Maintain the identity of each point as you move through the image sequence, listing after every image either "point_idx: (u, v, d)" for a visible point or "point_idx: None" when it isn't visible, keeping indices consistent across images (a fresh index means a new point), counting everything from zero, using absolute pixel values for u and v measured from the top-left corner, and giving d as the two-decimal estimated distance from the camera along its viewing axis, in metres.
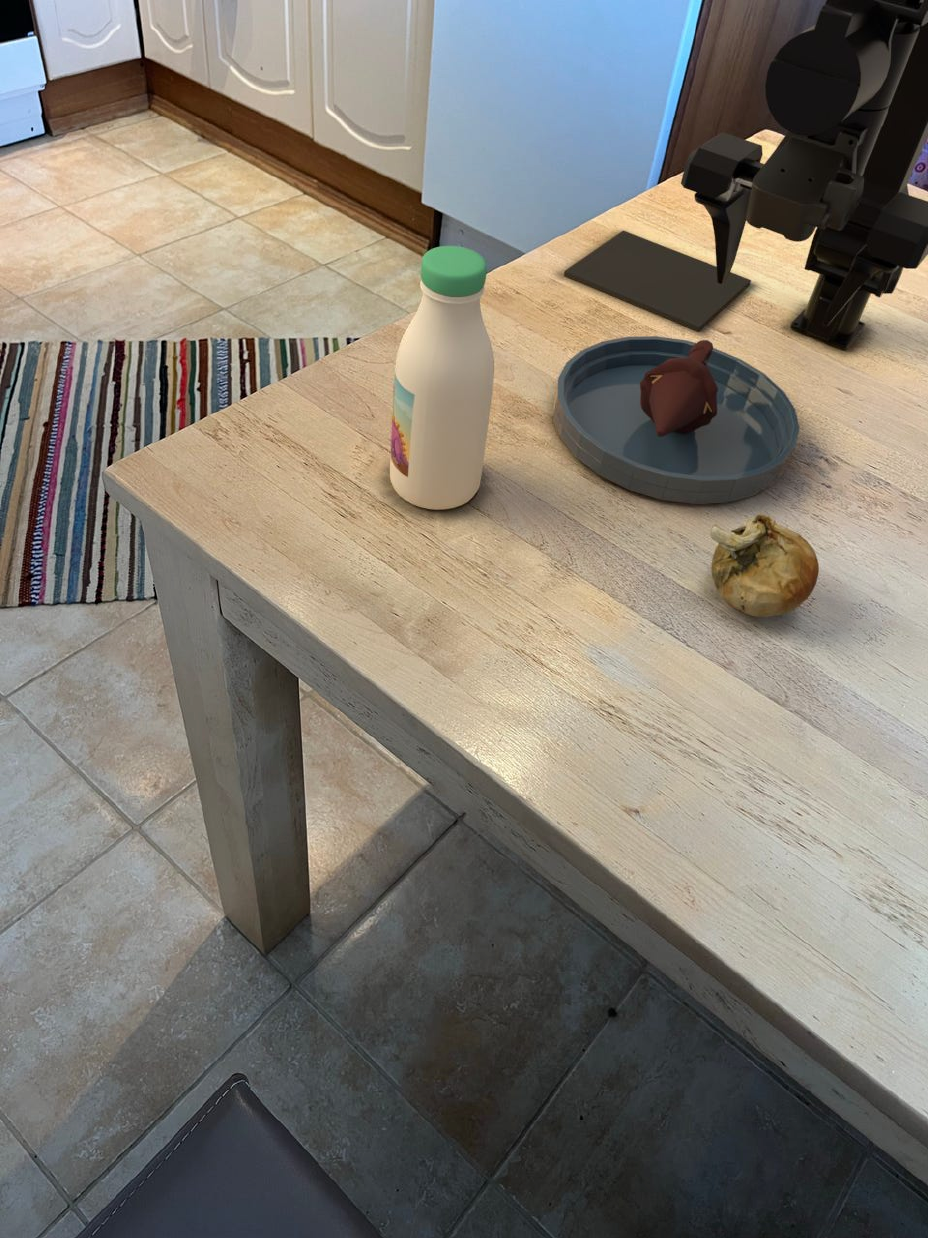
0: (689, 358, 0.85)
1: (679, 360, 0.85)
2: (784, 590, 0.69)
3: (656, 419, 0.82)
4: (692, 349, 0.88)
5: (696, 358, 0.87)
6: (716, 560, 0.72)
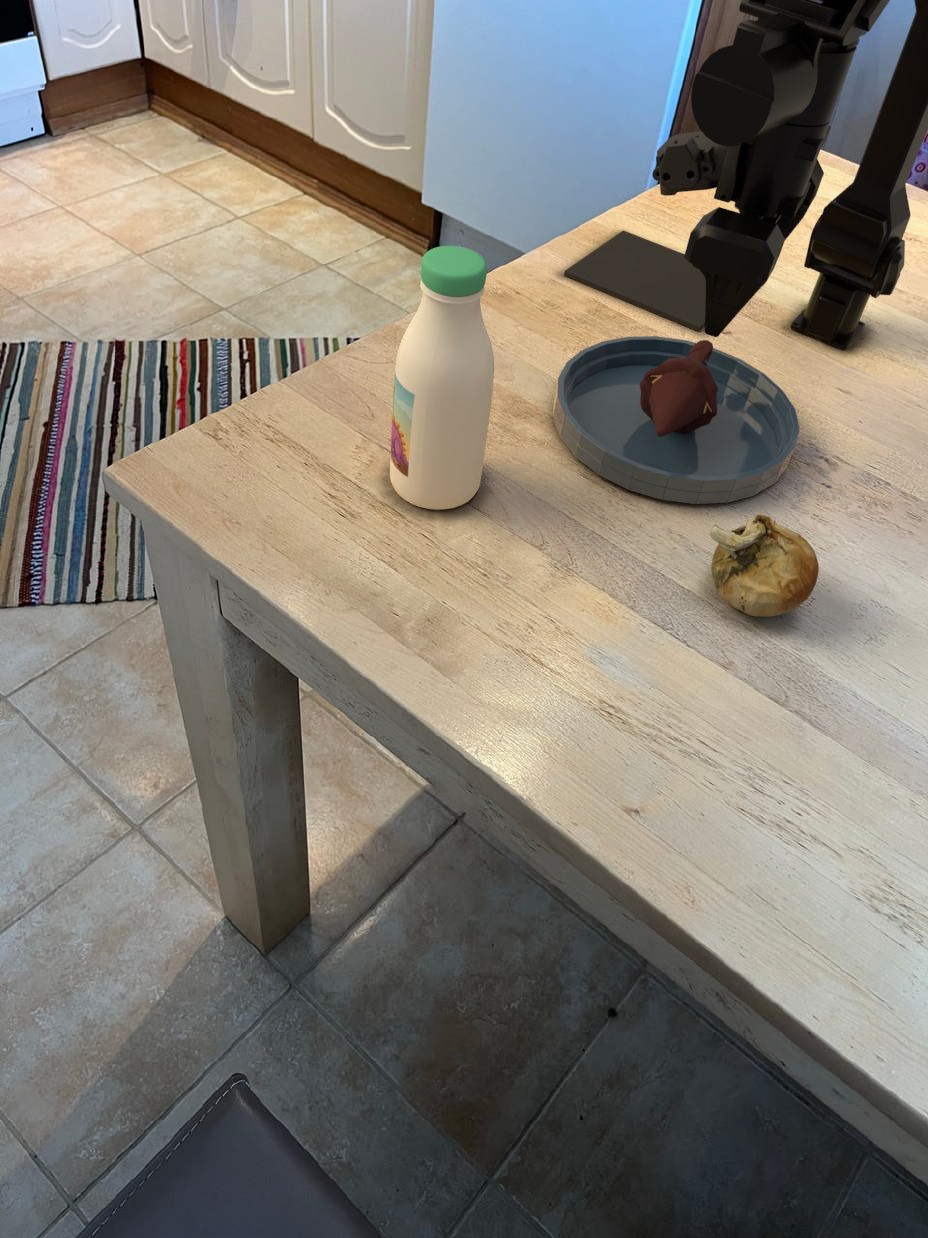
0: (689, 358, 0.85)
1: (679, 360, 0.85)
2: (784, 590, 0.69)
3: (656, 419, 0.82)
4: (692, 349, 0.88)
5: (696, 358, 0.87)
6: (716, 560, 0.72)
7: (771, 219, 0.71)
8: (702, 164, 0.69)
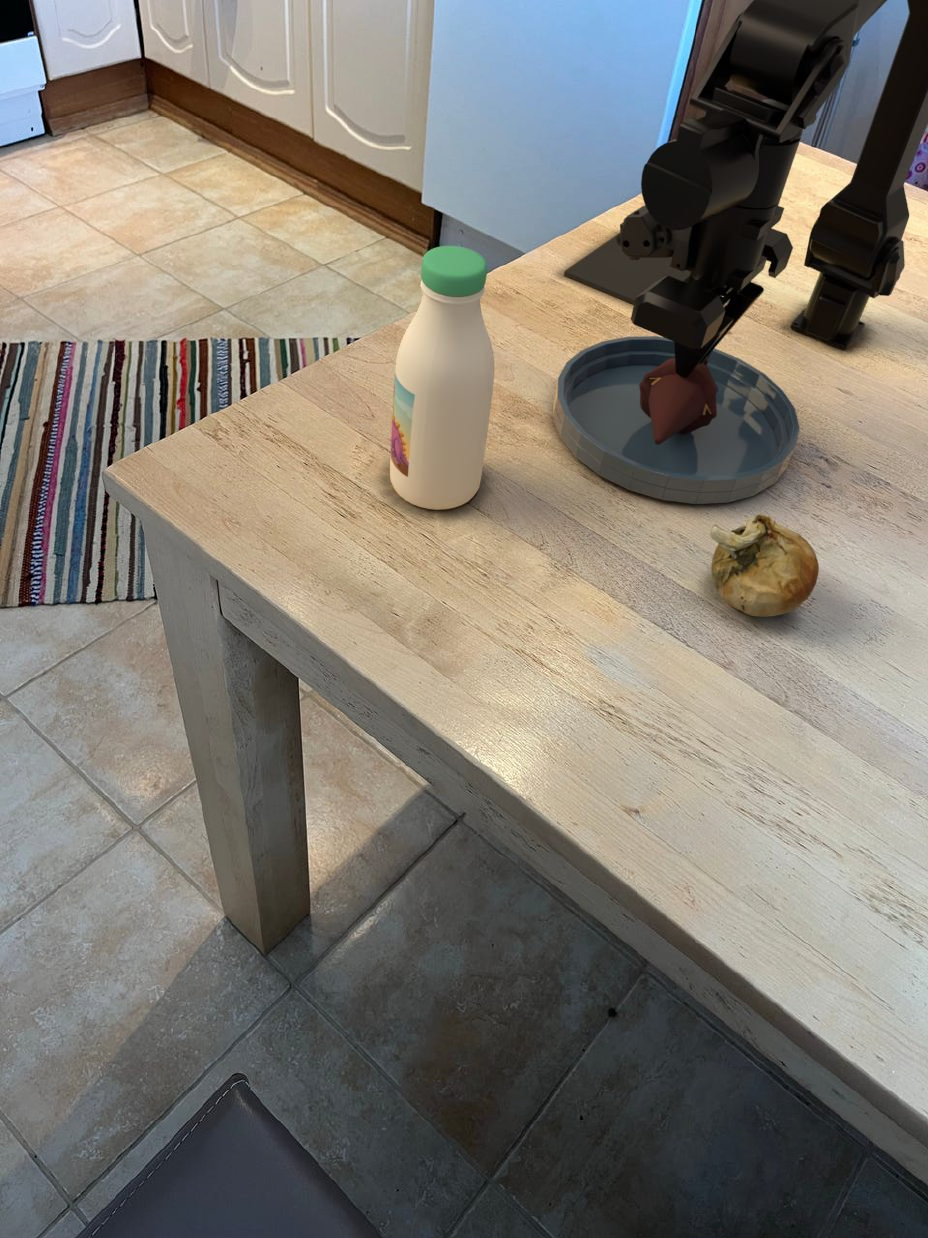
0: None
1: None
2: (784, 590, 0.69)
3: (654, 426, 0.82)
4: None
5: None
6: (716, 560, 0.72)
7: None
8: (658, 235, 0.75)
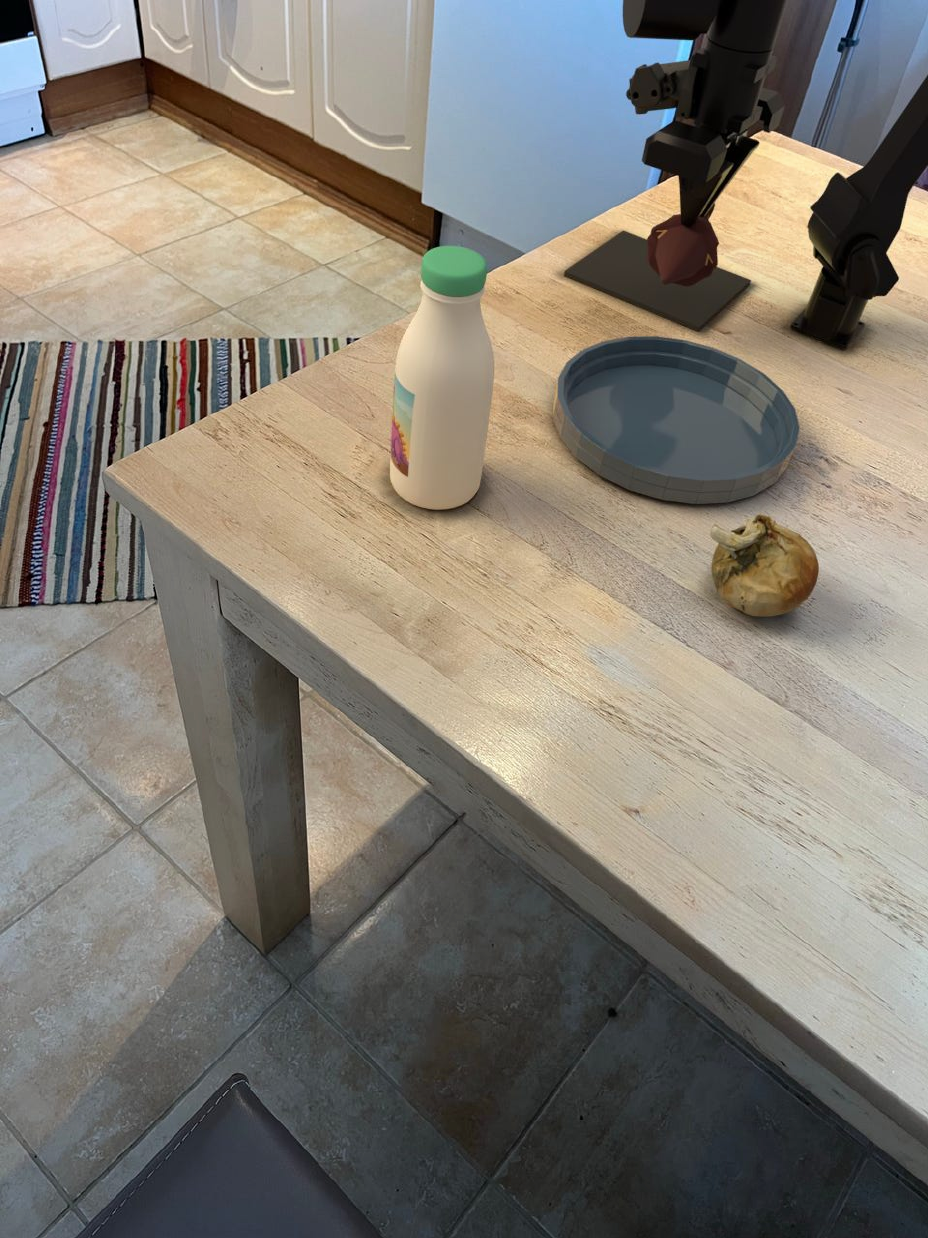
0: None
1: None
2: (784, 590, 0.69)
3: (661, 269, 0.90)
4: None
5: None
6: (716, 559, 0.72)
7: None
8: (665, 85, 0.83)
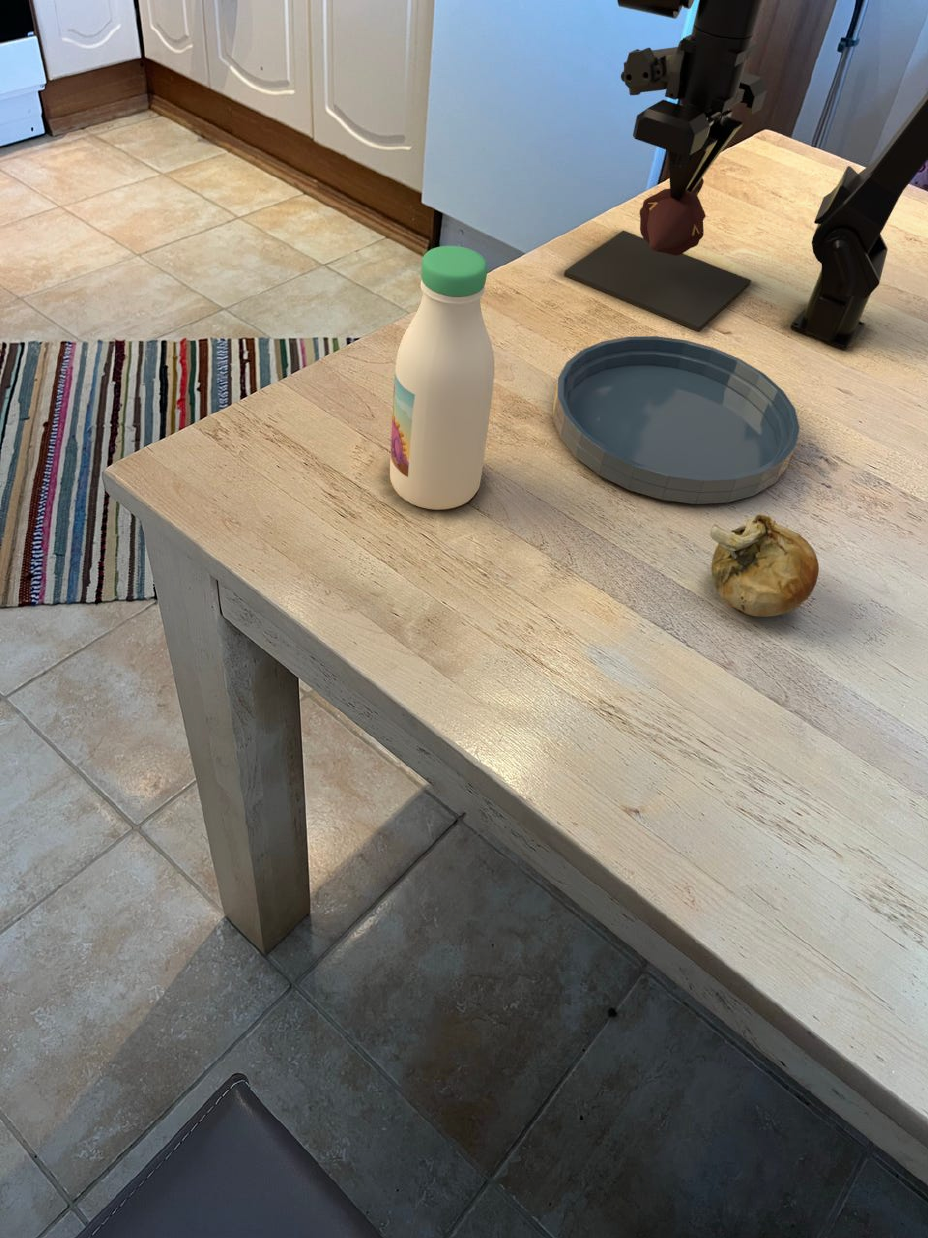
0: None
1: None
2: (784, 590, 0.69)
3: (650, 236, 0.99)
4: None
5: None
6: (716, 560, 0.72)
7: None
8: (655, 68, 0.92)
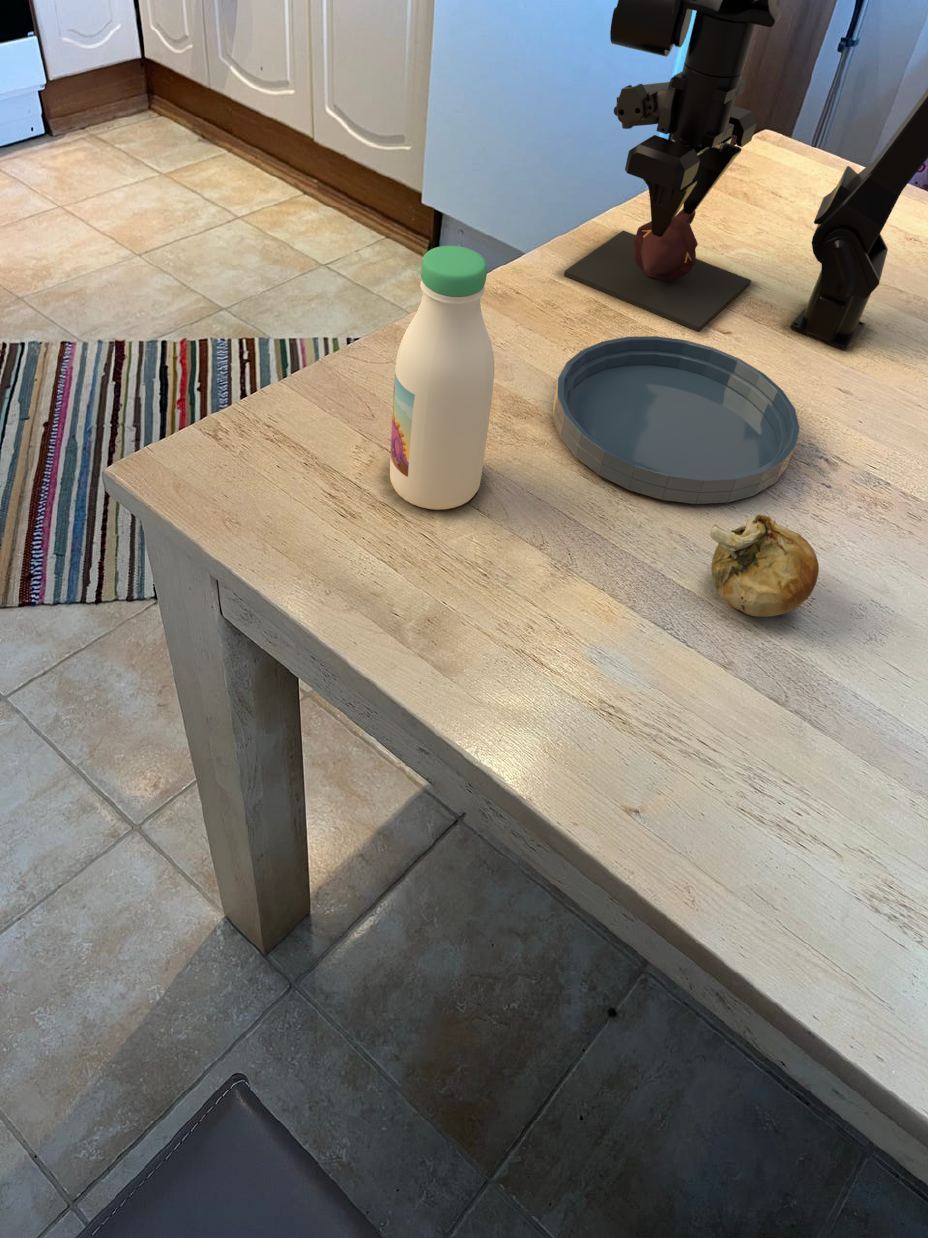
0: None
1: None
2: (784, 590, 0.69)
3: (644, 261, 1.01)
4: (678, 214, 1.07)
5: (680, 220, 1.06)
6: (716, 560, 0.72)
7: (702, 146, 0.96)
8: (647, 103, 0.94)
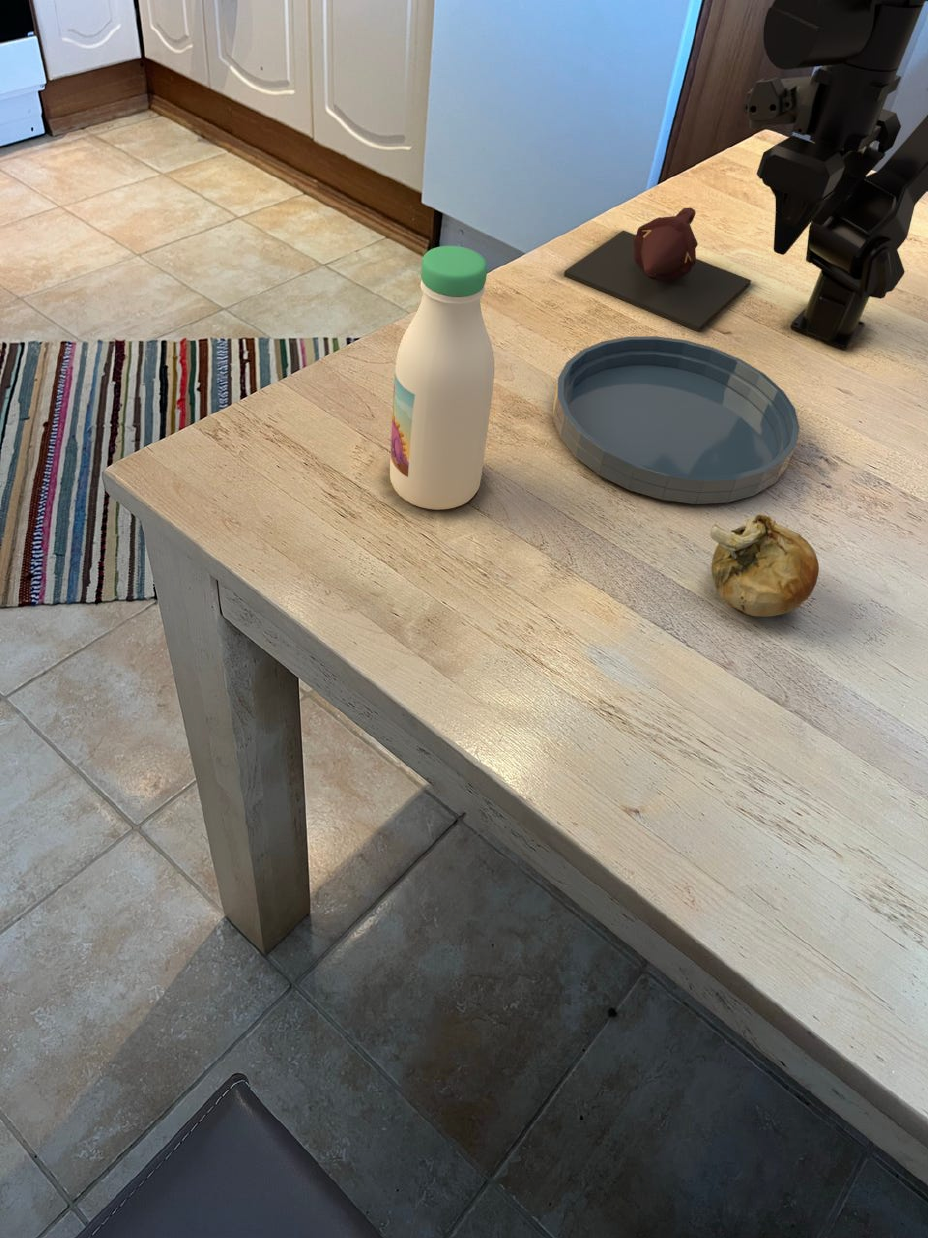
0: (674, 216, 1.04)
1: (665, 217, 1.04)
2: (784, 590, 0.69)
3: (644, 261, 1.01)
4: (678, 214, 1.07)
5: (680, 220, 1.06)
6: (716, 559, 0.72)
7: (839, 153, 0.84)
8: (784, 100, 0.83)
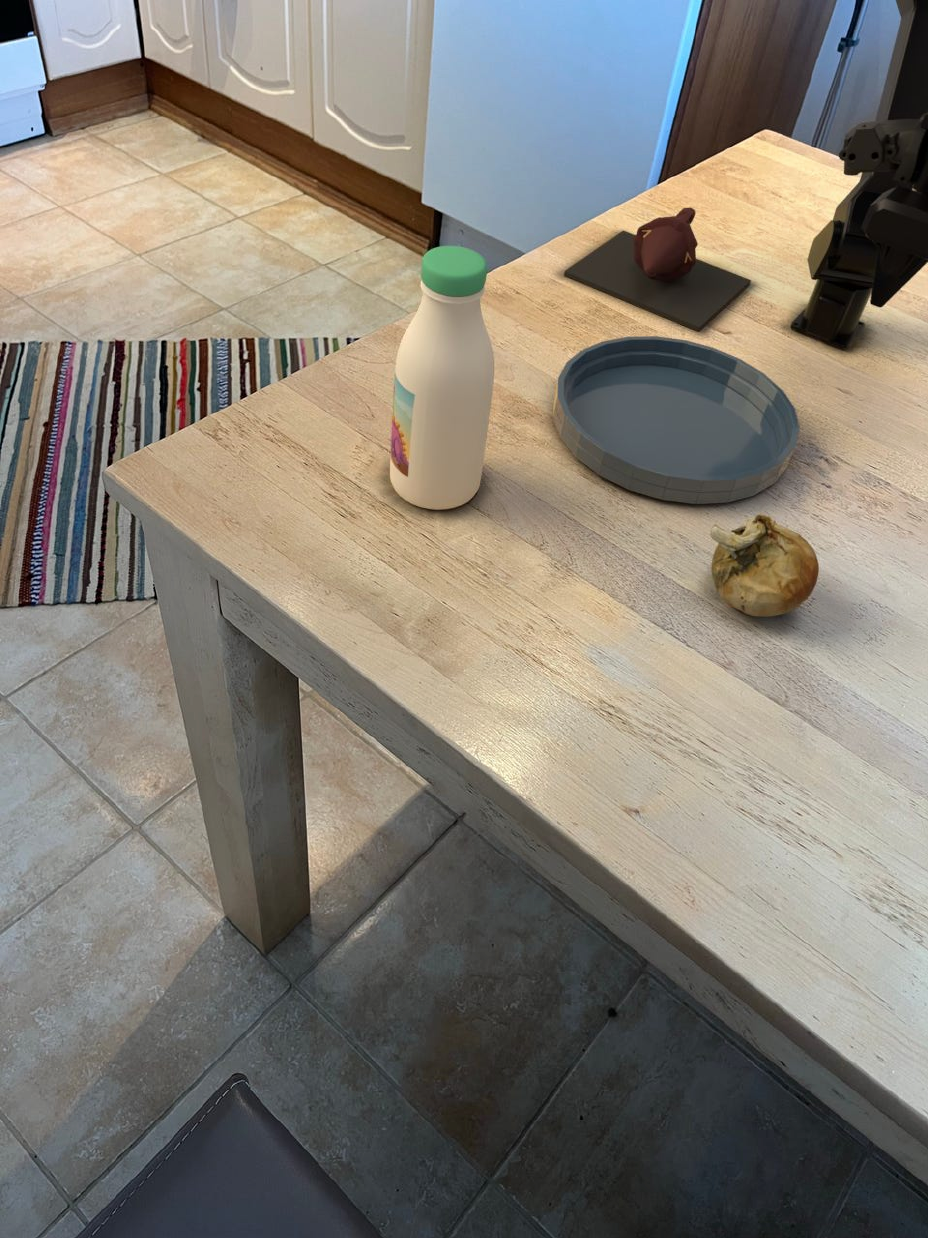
0: (674, 216, 1.04)
1: (665, 217, 1.04)
2: (784, 590, 0.69)
3: (644, 261, 1.01)
4: (678, 214, 1.07)
5: (680, 220, 1.06)
6: (716, 560, 0.72)
7: None
8: (887, 147, 0.77)
